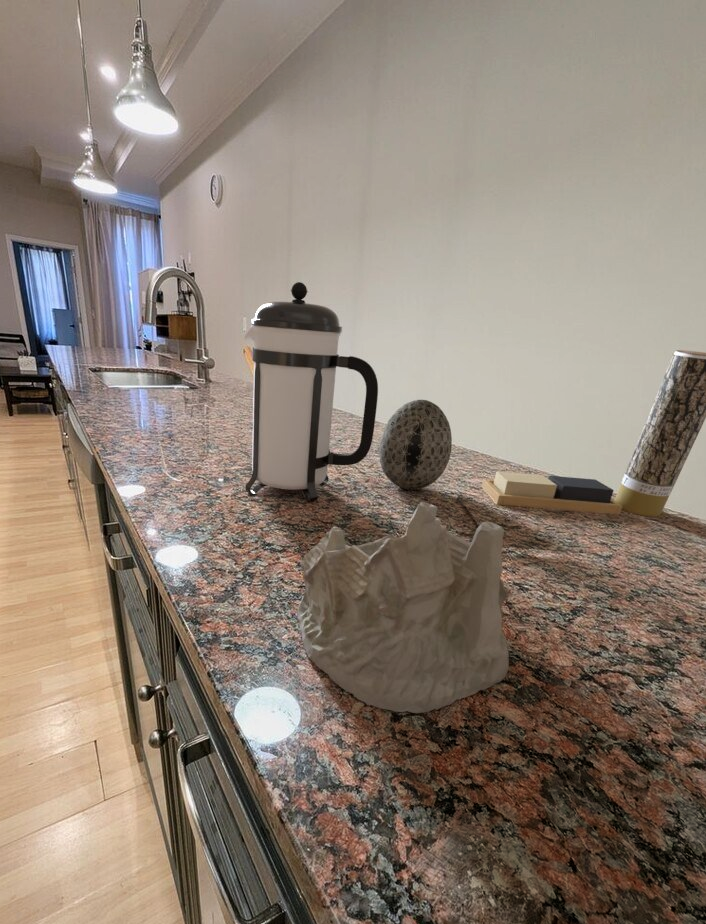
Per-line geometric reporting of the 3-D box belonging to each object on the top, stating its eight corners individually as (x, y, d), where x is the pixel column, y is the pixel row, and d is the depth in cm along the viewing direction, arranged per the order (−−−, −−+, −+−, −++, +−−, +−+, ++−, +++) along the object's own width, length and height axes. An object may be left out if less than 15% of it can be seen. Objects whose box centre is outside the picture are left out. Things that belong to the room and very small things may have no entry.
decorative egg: (380, 473, 84) (391, 392, 78) (443, 483, 81) (459, 399, 76) (369, 492, 73) (381, 400, 68) (442, 504, 71) (460, 409, 65)
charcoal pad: (589, 498, 78) (595, 479, 76) (606, 510, 73) (613, 490, 71) (543, 494, 78) (548, 475, 76) (557, 506, 73) (563, 485, 71)
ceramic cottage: (539, 681, 35) (580, 497, 30) (345, 740, 29) (354, 526, 24) (427, 587, 48) (441, 450, 43) (280, 615, 43) (278, 462, 38)
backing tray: (590, 499, 79) (594, 488, 78) (618, 518, 71) (623, 505, 71) (480, 489, 79) (483, 478, 79) (496, 507, 71) (499, 495, 71)
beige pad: (537, 494, 78) (542, 475, 76) (551, 505, 73) (557, 485, 71) (491, 490, 78) (496, 471, 76) (502, 501, 73) (507, 481, 71)
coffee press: (267, 512, 62) (276, 270, 51) (229, 477, 75) (229, 277, 64) (368, 498, 71) (394, 288, 59) (318, 469, 83) (332, 291, 72)
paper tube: (666, 514, 74) (741, 357, 63) (648, 523, 70) (723, 357, 59) (624, 498, 79) (685, 350, 68) (604, 506, 75) (666, 350, 64)
